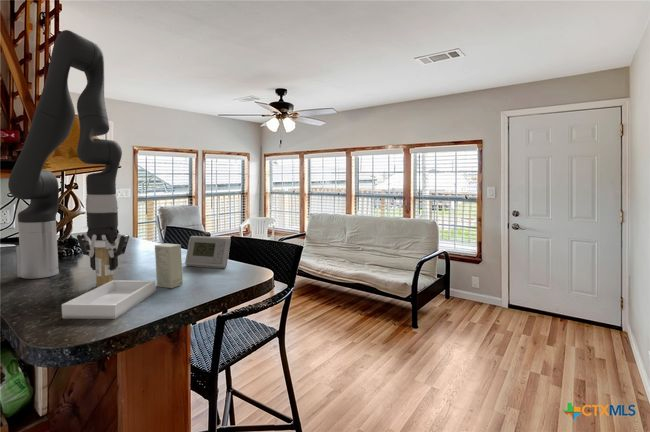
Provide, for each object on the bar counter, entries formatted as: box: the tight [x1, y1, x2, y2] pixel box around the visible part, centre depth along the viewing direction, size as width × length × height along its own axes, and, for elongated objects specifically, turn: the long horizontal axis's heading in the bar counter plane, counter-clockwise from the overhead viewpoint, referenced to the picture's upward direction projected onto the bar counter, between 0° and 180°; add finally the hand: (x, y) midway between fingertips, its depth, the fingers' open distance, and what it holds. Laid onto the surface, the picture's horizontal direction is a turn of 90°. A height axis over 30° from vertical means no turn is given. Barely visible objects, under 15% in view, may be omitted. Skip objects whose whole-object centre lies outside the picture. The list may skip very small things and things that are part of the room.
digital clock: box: [184, 235, 231, 269], centre depth 129 cm, size 16×9×11 cm, turn 68°
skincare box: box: [154, 242, 183, 289], centre depth 104 cm, size 6×4×12 cm
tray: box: [61, 279, 157, 320], centre depth 88 cm, size 12×20×3 cm, turn 1°
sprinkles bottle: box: [94, 240, 114, 288], centre depth 103 cm, size 5×5×14 cm
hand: (104, 269), depth 103 cm, fingers closed on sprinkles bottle, 4 cm apart
